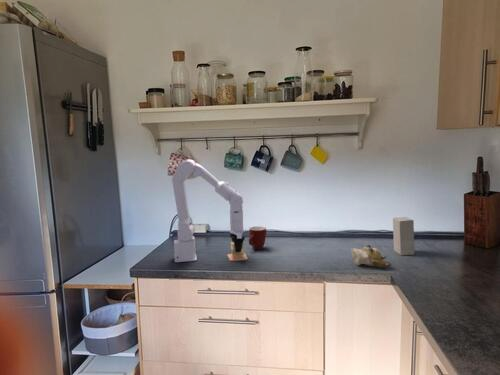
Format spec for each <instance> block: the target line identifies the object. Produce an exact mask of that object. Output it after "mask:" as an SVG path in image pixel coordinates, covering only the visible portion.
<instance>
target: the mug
mask: <svg viewBox="0 0 500 375" xmlns="http://www.w3.org/2000/svg"><path fill="white" fill-rule="evenodd" d="M248 230H249V231H248V232H249V238H248V244H249V245H250V246H251V247H252V248H253V249H254V250H256V251H258V250H259V251H261V250H262V249H263V248H264V246H265V244H266V237H267V228H266V227H264V226H251V227H249V229H248Z"/></svg>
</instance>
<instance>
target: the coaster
mask: <svg viewBox="0 0 500 375" xmlns="http://www.w3.org/2000/svg"><path fill="white" fill-rule="evenodd" d="M227 258H228V260H229V262H235V261H236V262H238V261H239V262H240V261H248V260H249V258H248V256H247V254H246V253H245V252H244V255H238V256H233V255H232V254H231V253H229V254H227Z"/></svg>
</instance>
